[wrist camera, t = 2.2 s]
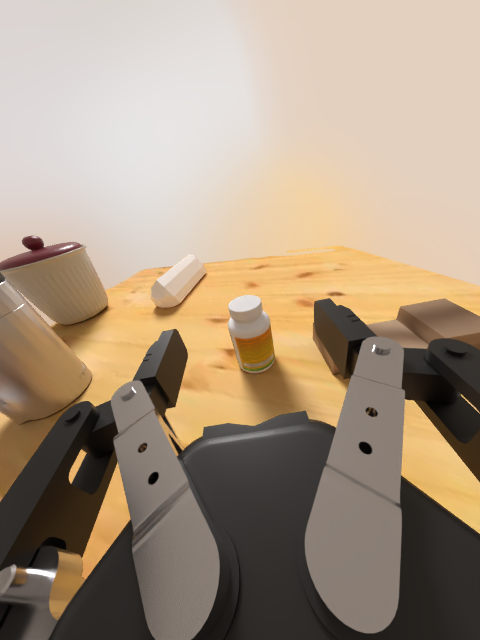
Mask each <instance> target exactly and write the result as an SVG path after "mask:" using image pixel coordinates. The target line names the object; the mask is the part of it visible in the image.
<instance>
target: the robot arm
mask: <svg viewBox="0 0 480 640" xmlns="http://www.w3.org/2000/svg"><path fill="white" fill-rule="evenodd" d="M314 327H315V331H316V334H317V335H318V337H319V339H320V340H321V342H322V344H323V345H324V347H325V349H326V350H327V352H328V353H329V355H330V357H331V358H332V360H333V362H334V363H335V365H336V367H337V368H338V370H339V371H340V373H341V375H342V376H343V378H344V379H347V378H351V379H350V382H349V386H348V389H347V393H346V396H345V400H344V403H343V407H342V410H341V414H340V417H339V421H338V424H337V428H335V427H334V426H331V425H329V424H327V423H324V422H321V421H317V420H312V419H308V416H307V413H306V411H302V412H296V413H289V414H283V415H279V416H277V417H274V418H272V419H270V420H268V421H265V422H263V423H261V424H258V425H256V426H248V425H239V424H230V423H227V424H221V425H214V426H208V427H204V430H203V436H202V437H200V438H198V439H197V440H195V441H193V442H192V443H191V444H189V445H188V446H187V447H186V448H184V447H183V445H182V443H181V442H180V440H179V438H178V436H177V434H176V433H175V431H174V429H173V427H172V425H171V423H170V422H169V420H168V418H167V416H166V415H165V412H166V409H167V408H173V407H175V406H176V402H177V398H178V394H179V390H180V386H181V382H182V378H183V374H184V370H185V366H186V362H187V358H188V353H187V349H186V347H185V345H184V343H183V340H182V338H181V336H180V334H179V332H178V331H177V330H176V329H173V330H168V331H163V332H162V333H161V335H160V338H159V340H158V341H156V342H155V343H154V344H153V345H152V346H151V347H150V348H149V349H148V351H147V353H146V356H145V357H144V359H143V362H142V363H141V365H140V367H139V369H138V371H137V373H136V375H135V377H134V379H133V381H131V382H128V383H126V384H124V385H123V386H121V387H120V388H119V389H118V390H117V391H116V392H115V393H114V395H113V396H112V399H111V400H110V401H108V402H105V403H103V404H101V405H99V406H96V407H95V406H94V405H93V404H92V403H91V402H89V401H84V402H80V403H78V404H76V405H74V406H72V407H71V408H69V409H68V410H67V411H66V412H65V413H64V414H63V415H62V416H61V417H60V418H59V419H58V421H57V422H56V423H55V425H54V426H53V428H52V429H51V431H50V432H49V433H48V435H47V436H46V438H45V439H44V441H43V442H42V443H41V445H40V446H39V448H38V449H37V451H36V452H35V453H34V455H33V456H32V458H31V459H30V460H29V462H28V463H27V465H26V466H25V468H24V469H23V470H22V472H21V473H20V475H19V476H18V478H17V479H16V480H15V482H14V483H13V485H12V486H11V488H10V489H9V490H8V492H7V493H6V495H5V496H4V497H3V499H2V500H1V502H0V640H480V534H479V533H478V532H476V531H475V530H474V529H472V528H471V527H470V526H468V525H467V524H466V523H464V522H463V521H462V520H460V519H459V518H458V517H456V516H455V515H454V514H452V513H451V512H450V511H448V510H447V509H446V508H444V507H443V506H442V505H440V504H439V503H438V502H436V501H435V500H434V499H432V498H431V497H429V496H428V495H427V494H425V493H424V492H423V491H421V490H420V489H419V488H417V487H416V486H415V485H413V484H412V483H411V482H409V481H408V480H407V479H405V478H404V477H403V476H401V464H402V444H403V425H404V405H405V399H406V400H414V401H415V402H416V403H417V404H418V406H419V407H420V408H421V409H422V411H423V412H424V413H425V414H426V416H427V417H428V418H429V419H430V421H431V422H432V423H433V424H434V426H435V427H436V428H437V429H438V431H439V432H440V433H441V434H442V436H443V437H444V438H445V439H446V441H447V442H448V443H449V444H450V446H451V447H452V448H453V449H454V451H455V452H456V453H457V454H458V456H459V457H460V458H461V459H462V461H463V462H464V463H465V464H466V466H467V467H468V468H469V469H470V471H471V472H472V473H473V474H474V476H475V477H476V478H477V479H478V480H479V482H480V414H479V413H478V412H477V411H476V410H475V409H474V408H473V407H472V406H471V405H470V404H469V403H468V402H467V401H466V400H465V399H464V398H463V397H462V396H461V394H462V395H463V396H464V397H465V398H466V399H467V400H468V401H469V402H470V403H471V404H472V405H473V406H474V407H476V409H477V410H478V411H479V412H480V350H478V349H477V348H475V347H474V346H472V345H470V344H468V343H465V342H463V341H459V340H455V339H448V338H440V339H435V340H432V341H431V342H430V343H429V345H428V348H427V349H422V348H403V347H402V346H401V345H400V344H399V343H397V342H396V341H394V340H392V339H389V338H385V337H378V336H377V335H376V334H375V333H374V332H373V331H372V330H371V329H370V328H369V327H368V326H367V325H366V324H365V323H364V322H363V321H362V320H360V319H359V318H358V317H357V316H356V315H355V314H354V313H353V312H352V311H351V310H350V309H349V308H346V307H344V306H342V305H339V306H336V304H335V303H334V302H333V301H332V300H331V299H329V298H328V299H323V300H318V301H315V302H314ZM91 378H92V373H91V371H90V370H89V369H88V368H87V367H86V366H85V364H84V363H83V362H82V361H81V360H80V359H79V358H78V357H77V356H76V355H75V353H74V352H73V351H72V350H71V349H70V348H69V347H68V346H67V345H66V344H65V343H64V341H63V340H62V339H61V338H60V337H59V336H58V335H57V334H56V333H55V332H54V330H53V329H52V328H51V327H50V326H49V325H48V324H47V323H46V322H45V321H44V319H43V318H42V317H41V316H40V315H39V314H38V313H37V312H36V311H35V310H34V308H33V307H32V306H31V305H30V304H29V303H28V302H27V301H26V300H25V299H24V298H23V297H22V295H21V294H20V293H19V292H18V291H17V290H16V289H15V288H14V287H13V285H12V284H11V283H10V282H9V281H8V280H7V279H5V277H4V276H3V275H2V274H1V272H0V412H1V413H3V414H4V415H6V416H7V417H9V418H10V419H12V420H13V421H15V422H17V423H18V424H22V423H23V422H25V421H28V420H38V419H42V418H45V417H47V416H50V415H52V414H54V413H56V412H58V411H60V410H61V409H63V408H64V407H66V406H67V405H69V404H70V403H71V402H73V401H74V400H75V399H76V398H77V397H78V396H79V395H80V394H81V393H82V392H83V391H84V390H85V389H86V387H87V386H88V385H89V383H90V381H91ZM81 449H82V450H83V451H85V452H86V453H87V454H86V456H85V458H84V460H83V462H82V464H81V466H80V468H79V470H78V472H77V474H76V476H75V478H74V480H73V482H72V484H70V482H69V472H70V469H71V467H72V465H73V463H74V462H75V460H76V458H77V456H78V454H79V452H80V450H81ZM117 462H118V464H119V468H120V473H121V477H122V481H123V486H124V490H125V495H126V499H127V504H128V508H129V512H130V517H131V520H130V521H129V522H128V524H127V525H126V526H125V528H124V529H123V530H122V532H121V533H120V534H119V536H118V537H117V538H116V540H115V541H114V542H113V544H112V545H111V546H110V548H109V549H108V550H107V552H106V553H105V555H104V556H103V557H102V559H101V560H100V561H99V563H98V564H97V565H96V567H95V568H94V569H93V571H92V572H91V573H90V575H89V576H88V577H87V579H86V580H85V579H84V578H83V577H82V572H83V561H82V557H83V554H84V551H85V549H86V546H87V543H88V540H89V538H90V535H91V532H92V530H93V527H94V524H95V521H96V519H97V516H98V513H99V511H100V508H101V505H102V502H103V500H104V497H105V494H106V492H107V489H108V486H109V484H110V481H111V478H112V475H113V473H114V470H115V467H116V465H117Z"/></svg>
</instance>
